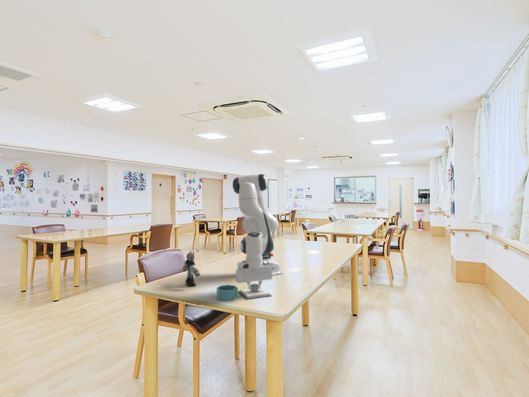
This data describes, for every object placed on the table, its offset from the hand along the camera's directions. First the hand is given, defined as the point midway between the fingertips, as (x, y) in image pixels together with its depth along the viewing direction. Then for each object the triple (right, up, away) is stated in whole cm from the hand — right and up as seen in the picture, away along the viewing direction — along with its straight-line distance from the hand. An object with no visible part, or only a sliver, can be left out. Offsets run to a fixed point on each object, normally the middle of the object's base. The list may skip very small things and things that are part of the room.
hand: (254, 289), depth 162 cm
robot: (-38, -3, +17) cm, 42 cm away
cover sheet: (0, -2, 0) cm, 2 cm away
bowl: (-14, -3, -6) cm, 15 cm away
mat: (0, -3, 0) cm, 2 cm away
